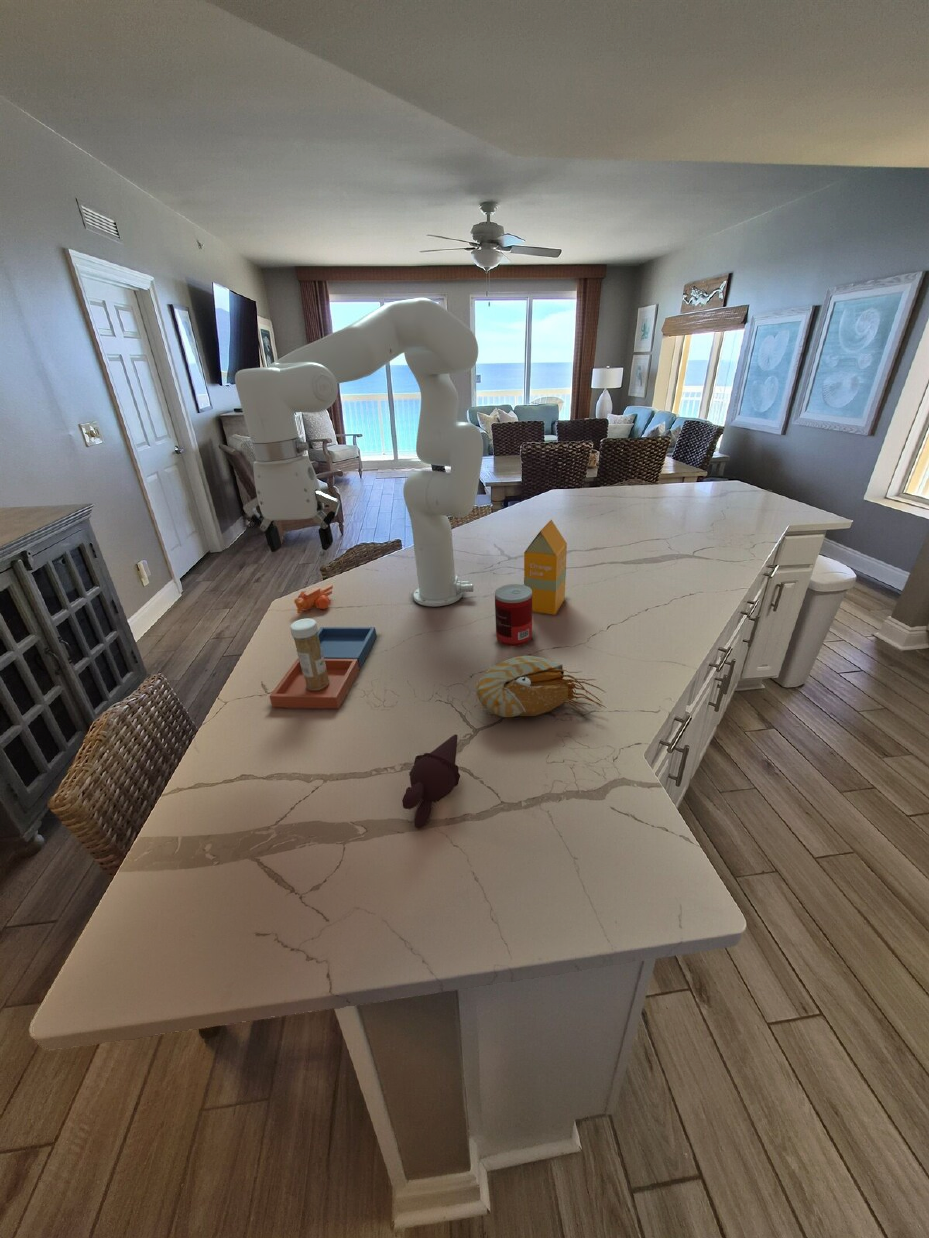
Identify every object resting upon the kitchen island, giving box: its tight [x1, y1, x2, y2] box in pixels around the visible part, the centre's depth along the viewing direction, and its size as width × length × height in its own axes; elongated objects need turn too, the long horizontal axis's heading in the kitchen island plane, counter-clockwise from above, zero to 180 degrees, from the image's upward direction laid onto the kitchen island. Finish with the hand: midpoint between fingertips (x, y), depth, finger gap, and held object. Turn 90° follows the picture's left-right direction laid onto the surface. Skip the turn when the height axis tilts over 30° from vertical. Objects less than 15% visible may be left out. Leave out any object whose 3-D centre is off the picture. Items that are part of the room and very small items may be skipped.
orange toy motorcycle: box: [293, 583, 334, 614], centre depth 125 cm, size 5×8×12 cm
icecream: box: [401, 733, 461, 830], centre depth 69 cm, size 7×7×15 cm
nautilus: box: [475, 655, 607, 718], centre depth 83 cm, size 8×22×15 cm
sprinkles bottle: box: [289, 618, 330, 691], centre depth 91 cm, size 5×5×13 cm
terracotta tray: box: [268, 658, 360, 710], centre depth 94 cm, size 13×13×2 cm
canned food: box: [494, 583, 533, 647], centre depth 104 cm, size 8×8×11 cm
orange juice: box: [523, 519, 568, 616], centre depth 115 cm, size 8×9×20 cm
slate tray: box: [317, 626, 378, 669], centre depth 106 cm, size 13×13×2 cm
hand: (302, 548), depth 90 cm, fingers open, 9 cm apart
